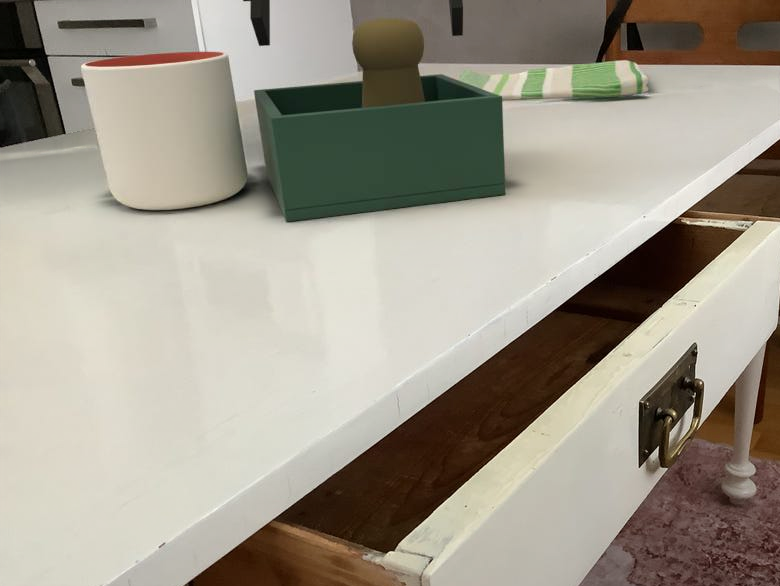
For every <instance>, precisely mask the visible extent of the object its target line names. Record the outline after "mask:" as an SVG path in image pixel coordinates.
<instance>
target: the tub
mask: <svg viewBox="0 0 780 586" xmlns="http://www.w3.org/2000/svg"><path fill="white" fill-rule="evenodd" d="M420 78H421V84H422V89H423V94H424V99H425V102H420V103H409V104H398V105H388V106H377V107H366V108H362V82H363V80H358V81H347V82H346V81H345V82H333V83H323V84H311V85H299V86H286V87H275V88H263V89H254V90H253V94H254V101H255V108H256V113H257V120H258V127H259V132H260V140H261V146H262V152H263V160H264V165H265V172H266V176H267V179H268V181H269V183H270V186H271V189H272V191H273V193H274V196H275V198H276V200H277V203H278V205H279V207H280V210H281V213H282V215H283V218H284V220H285V222H286V223H288V222H289V223H290V222H298V221H306V220H313V219H322V218H328V217H329V218H330V217H337V216H344V215H352V214H353V215H354V214H360V213H361V214H362V213H368V212H376V211H384V210H391V209H392V210H393V209H401V208H407V207H408V208H409V207H416V206H424V205H433V204H439V203H446V202H447V203H448V202H454V201H463V200H471V199H472V200H473V199H479V198H487V197H496V196H502V195H506V168H505V167H506V166H505V142H504V141H505V140H504V109H503V100H502V96H499V95H496V94H493V93H491V92H488V91H485V90H483V89H480V88H477V87H475V86H472V85H469V84H467V83H464V82H461V81H459V79H455V78H453V77H450V76H448V75H445V74H443V73H439V74H427V75H420Z"/></svg>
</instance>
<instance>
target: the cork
mask: <svg viewBox="0 0 780 586" xmlns="http://www.w3.org/2000/svg"><path fill="white" fill-rule="evenodd" d="M351 46H352V52H353V53H352V54H353V55H354V56H353V57H354V58H355V61H356V62H357V64H358V65H359V67H361V69H362V81H363V82H362V108H366V107H377V106H388V105H398V104H409V103H420V102H425V99H424V94H423V89H422V84H421V78H420V76H421V74H420V70H419V64H420V62H421V61H422V59H423V56H424V51H425V38H424V34H423V32H422V29H421V28H420V26H419V24H418V23H416V22H415V21H414V20H410V19H405V18H399V17H382V18H374V19H370V20H367V21H365V22H362V23H360V24H359V25H358V26H356V27H355V29H354V32H353V34H352V41H351Z"/></svg>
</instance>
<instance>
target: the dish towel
mask: <svg viewBox="0 0 780 586" xmlns="http://www.w3.org/2000/svg"><path fill="white" fill-rule="evenodd" d="M458 80H459V81H461V82H464V83H467V84H469V85H472V86H475V87H477V88H480V89H483V90H485V91H488V92H491V93H493V94H496V95H499V96H502V101H509V100H510V101H513V100H514V101H515V100H539V99H566V100H580V99H581V100H582V99H599V98H600V99H601V98H613V97H614V98H615V97H616V98H617V97H622V96H630V95H639V94H642V93H647V92H648V91H650V88H649V86H648V83H649V78H648V76H647V75H645V73H644V71H643V70H642V68H640V66H639V65H638V63H636V62H634V61H631V60H627V59H621V60H612V61H611V60H609V61H603V62H591V63H582V64H572V65H567V66H559V67H550V68H549V67H548V68H547V67H545V68H543V67H542V68H535V69H530V70H529V69H528V70H524V71H522V72H519V73H501V74H500V73H499V74H487V73H479V72H476V71H473V70H469V69H467V70H466V69H465V70H463V71H461V73H460V78H458Z"/></svg>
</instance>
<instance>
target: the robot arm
mask: <svg viewBox="0 0 780 586" xmlns="http://www.w3.org/2000/svg"><path fill="white" fill-rule="evenodd" d="M463 1H464V0H448V5H449V15H450V16H449V17H450V26H451V28H450V29H451V36H452V37H460V36H464V2H463ZM242 2H250V3H249V4H250V7H249V8H250V10H249V11H250V14H249V15H250V16H249V17H250V21H251V24H252V25H251V26H252V28H253V31H254V35H255V38H256V40H257V44H258V47H265V46H266V47H267V46H270V45H271V17H270V16H271V0H242ZM11 84H12V81H11V80H10V79H5V81H3V83H1V84H0V93H2V92H4V91H5V90H8V89H9V87H10V86H11Z"/></svg>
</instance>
